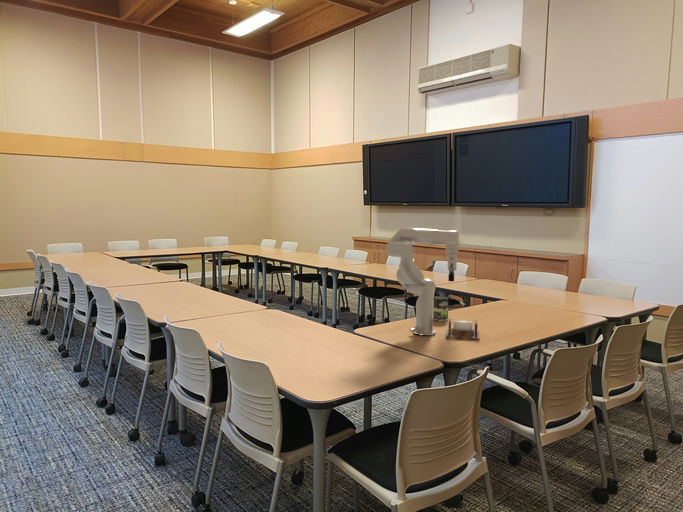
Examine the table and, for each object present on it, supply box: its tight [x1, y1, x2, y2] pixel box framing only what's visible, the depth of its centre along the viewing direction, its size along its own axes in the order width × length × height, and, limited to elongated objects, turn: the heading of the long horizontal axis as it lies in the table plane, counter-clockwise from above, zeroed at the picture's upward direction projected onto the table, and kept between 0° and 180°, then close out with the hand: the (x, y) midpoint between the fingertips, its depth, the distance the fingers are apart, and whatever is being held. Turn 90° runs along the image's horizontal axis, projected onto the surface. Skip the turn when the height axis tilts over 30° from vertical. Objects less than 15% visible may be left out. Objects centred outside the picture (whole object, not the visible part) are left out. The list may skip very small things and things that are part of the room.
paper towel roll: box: [453, 320, 473, 331], centre depth 267 cm, size 10×6×6 cm, turn 76°
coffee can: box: [433, 295, 449, 322], centre depth 305 cm, size 10×10×14 cm
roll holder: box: [445, 318, 481, 341], centre depth 267 cm, size 18×16×8 cm
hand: (451, 279), depth 285 cm, fingers open, 9 cm apart
